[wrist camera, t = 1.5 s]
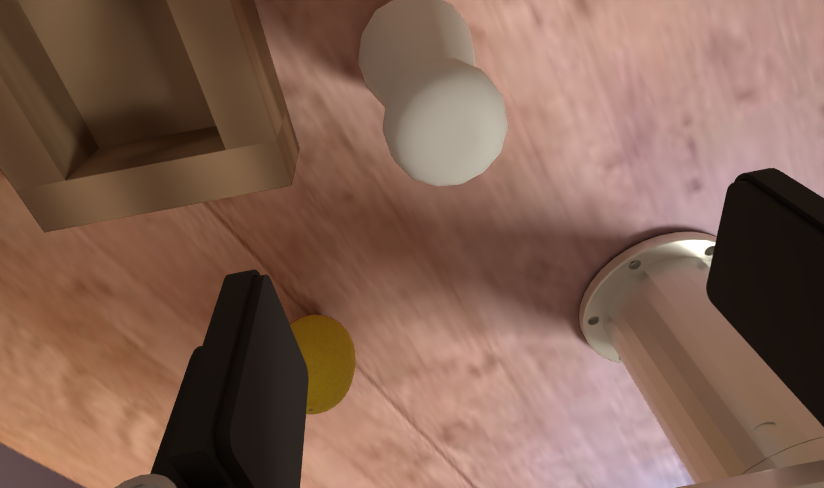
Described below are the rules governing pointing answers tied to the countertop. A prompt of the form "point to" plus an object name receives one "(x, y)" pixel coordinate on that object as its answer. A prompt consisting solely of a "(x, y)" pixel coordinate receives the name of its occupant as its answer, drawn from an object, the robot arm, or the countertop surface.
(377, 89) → the salt shaker
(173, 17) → the shaker holder
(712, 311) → the robot arm
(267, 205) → the countertop surface
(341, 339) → the lemon
